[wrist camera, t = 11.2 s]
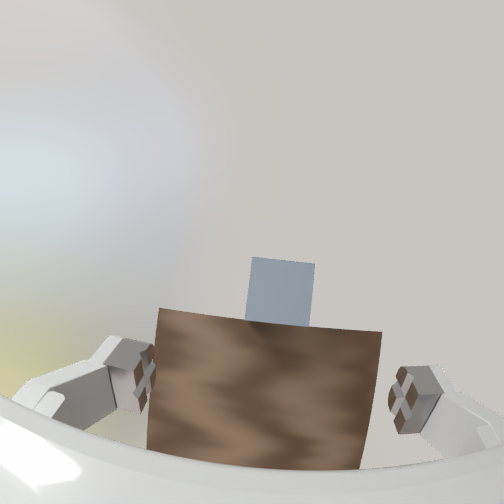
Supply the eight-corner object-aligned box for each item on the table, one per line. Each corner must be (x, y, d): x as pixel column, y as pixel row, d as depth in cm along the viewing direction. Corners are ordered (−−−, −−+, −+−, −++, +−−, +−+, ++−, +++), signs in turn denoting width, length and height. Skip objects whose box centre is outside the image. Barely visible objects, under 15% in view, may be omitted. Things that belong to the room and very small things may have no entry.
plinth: (148, 587, 14) (159, 307, 19) (180, 518, 28) (199, 313, 33) (311, 605, 13) (382, 331, 19) (297, 531, 27) (333, 328, 32)
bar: (244, 320, 15) (252, 256, 16) (253, 320, 40) (256, 297, 41) (308, 326, 15) (314, 263, 15) (277, 323, 40) (280, 299, 41)
